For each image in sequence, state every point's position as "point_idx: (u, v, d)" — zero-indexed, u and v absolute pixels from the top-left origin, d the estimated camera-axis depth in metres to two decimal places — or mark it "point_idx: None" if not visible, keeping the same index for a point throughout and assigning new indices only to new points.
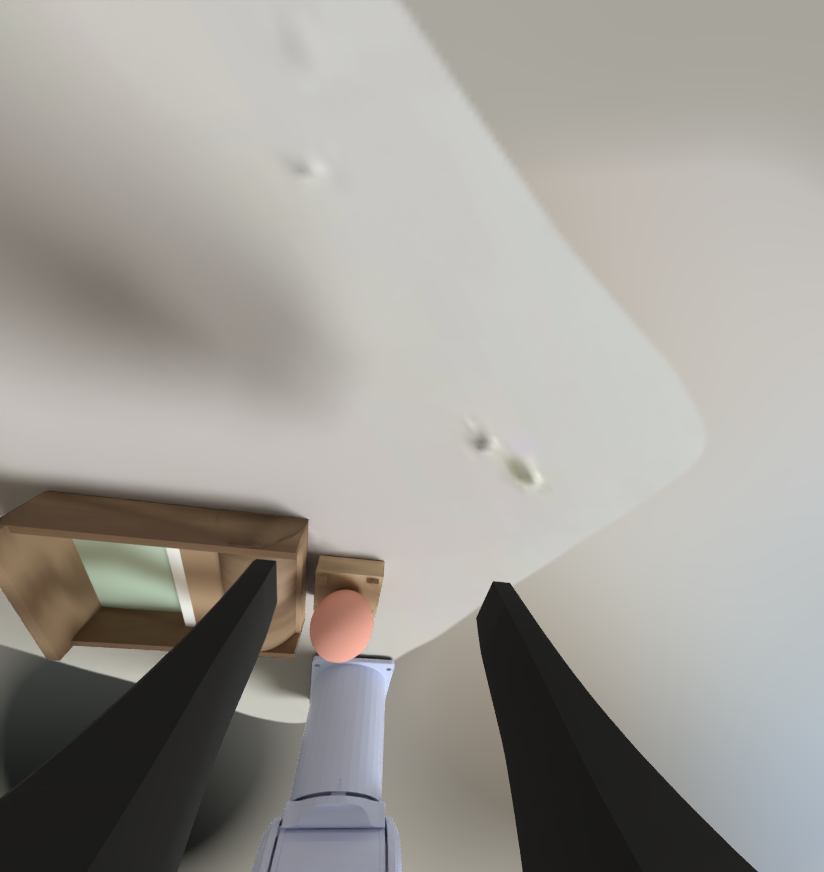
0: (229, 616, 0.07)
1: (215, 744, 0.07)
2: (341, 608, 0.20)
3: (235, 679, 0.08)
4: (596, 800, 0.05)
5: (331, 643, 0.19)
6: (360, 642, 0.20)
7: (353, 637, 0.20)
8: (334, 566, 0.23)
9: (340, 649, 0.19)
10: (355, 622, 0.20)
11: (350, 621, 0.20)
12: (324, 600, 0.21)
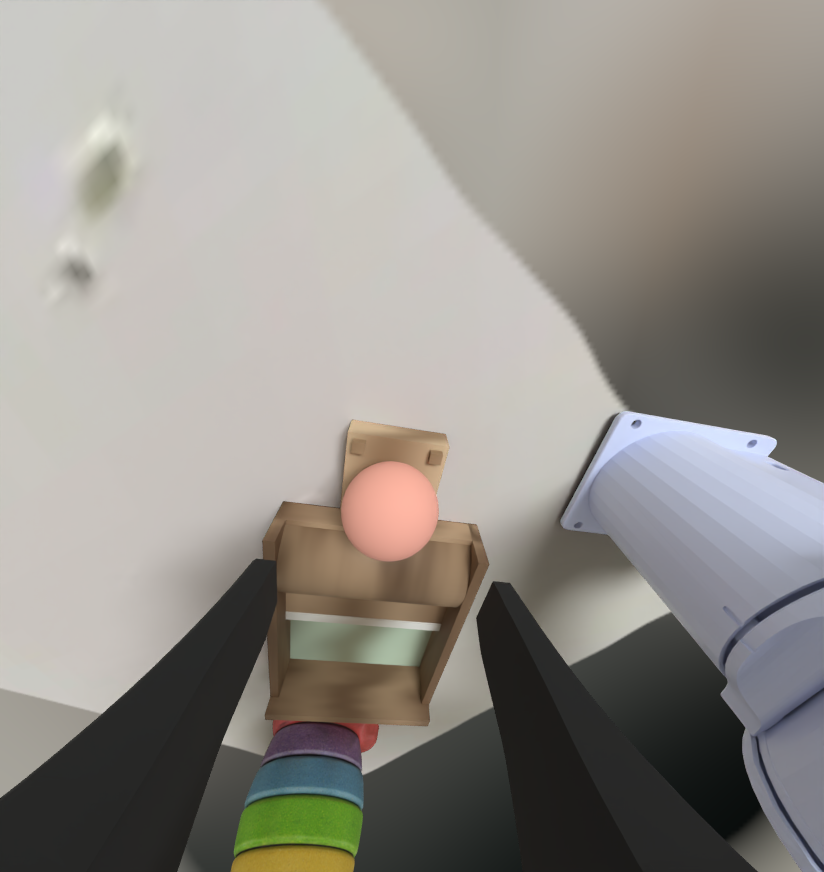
0: (229, 616, 0.07)
1: (216, 744, 0.07)
2: (341, 510, 0.13)
3: (235, 679, 0.08)
4: (596, 800, 0.05)
5: (361, 546, 0.12)
6: (375, 506, 0.12)
7: (360, 514, 0.12)
8: None
9: (370, 539, 0.12)
10: (349, 502, 0.12)
11: (346, 508, 0.12)
12: None
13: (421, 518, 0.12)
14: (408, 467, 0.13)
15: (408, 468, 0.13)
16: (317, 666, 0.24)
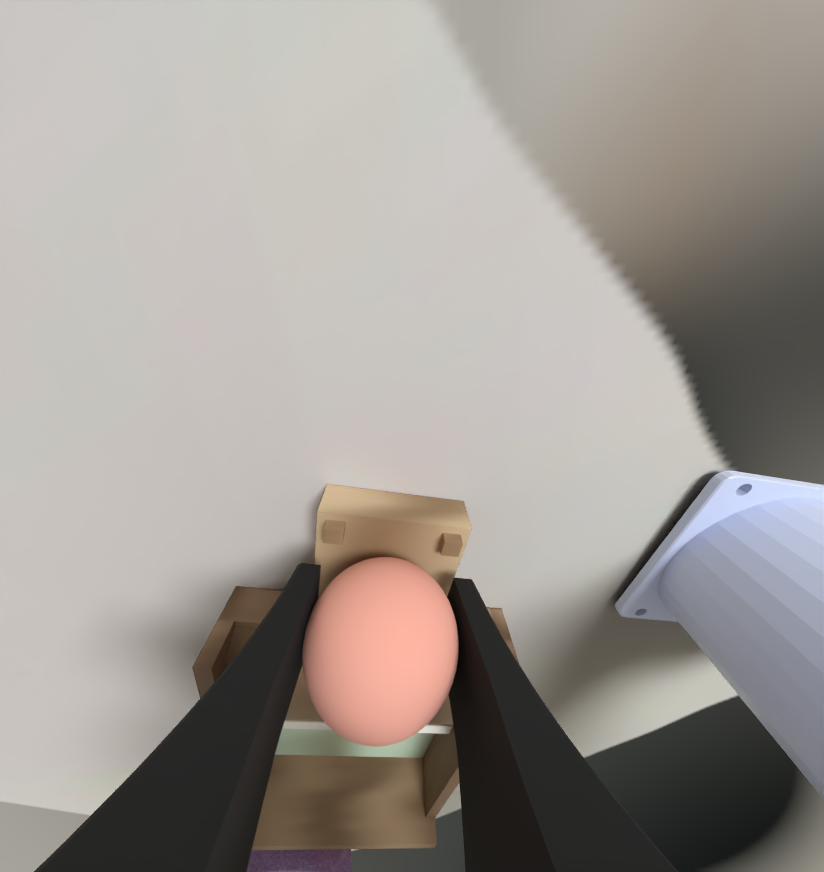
0: (287, 620, 0.07)
1: (274, 746, 0.07)
2: None
3: (290, 682, 0.08)
4: (523, 799, 0.05)
5: (332, 729, 0.07)
6: (354, 673, 0.07)
7: (329, 683, 0.07)
8: None
9: (345, 727, 0.07)
10: (313, 650, 0.07)
11: (307, 659, 0.07)
12: None
13: (433, 684, 0.07)
14: (410, 578, 0.08)
15: (410, 581, 0.08)
16: (295, 764, 0.19)
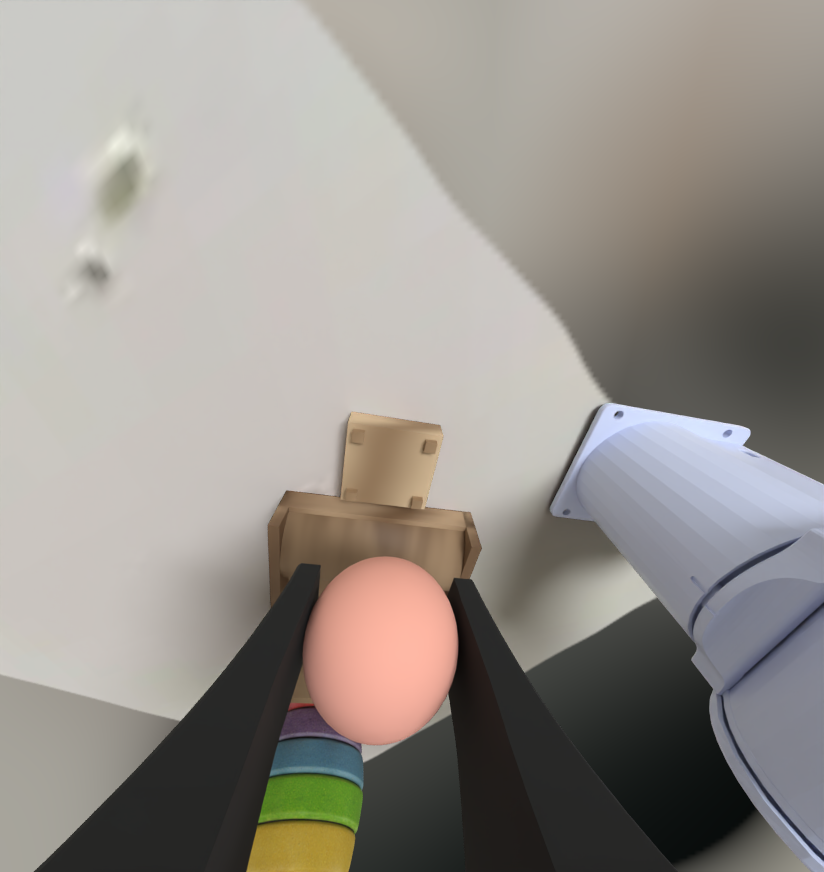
0: (287, 620, 0.07)
1: (274, 745, 0.07)
2: None
3: (290, 682, 0.08)
4: (523, 799, 0.05)
5: None
6: (354, 671, 0.07)
7: (329, 682, 0.07)
8: None
9: (345, 725, 0.07)
10: (313, 649, 0.07)
11: (307, 658, 0.07)
12: None
13: (433, 683, 0.07)
14: (410, 577, 0.08)
15: (410, 580, 0.08)
16: None
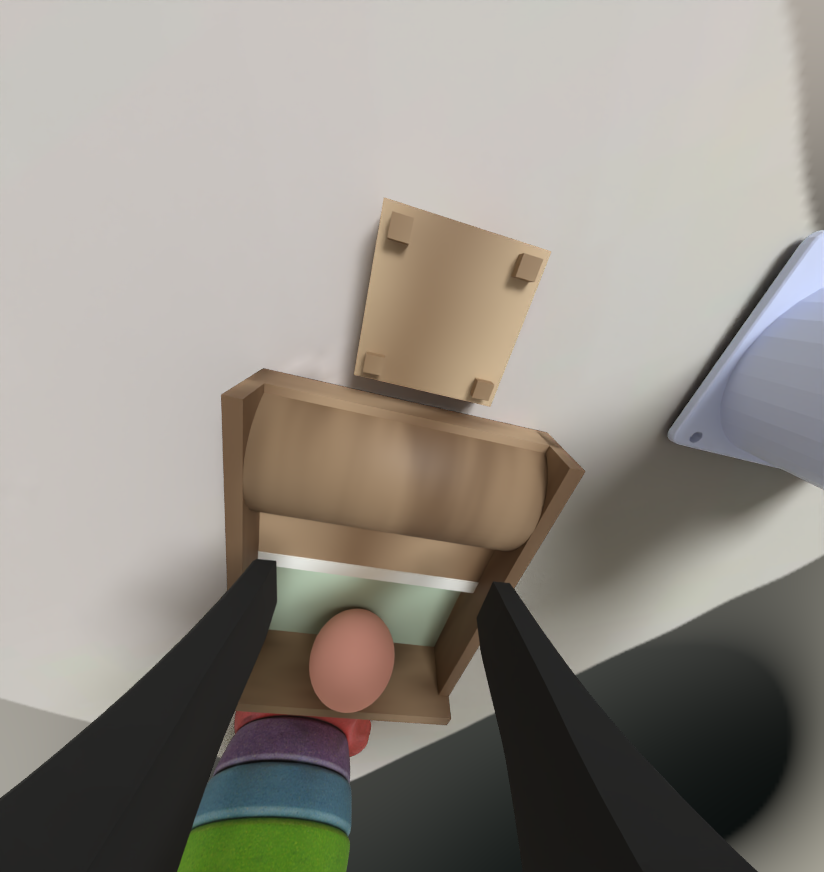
0: (229, 616, 0.07)
1: (215, 744, 0.07)
2: (311, 652, 0.15)
3: (235, 679, 0.08)
4: (596, 800, 0.05)
5: (339, 629, 0.15)
6: (345, 610, 0.17)
7: (335, 615, 0.16)
8: None
9: (346, 617, 0.16)
10: (323, 626, 0.16)
11: (320, 630, 0.16)
12: (319, 695, 0.14)
13: (378, 617, 0.17)
14: None
15: None
16: (299, 640, 0.18)
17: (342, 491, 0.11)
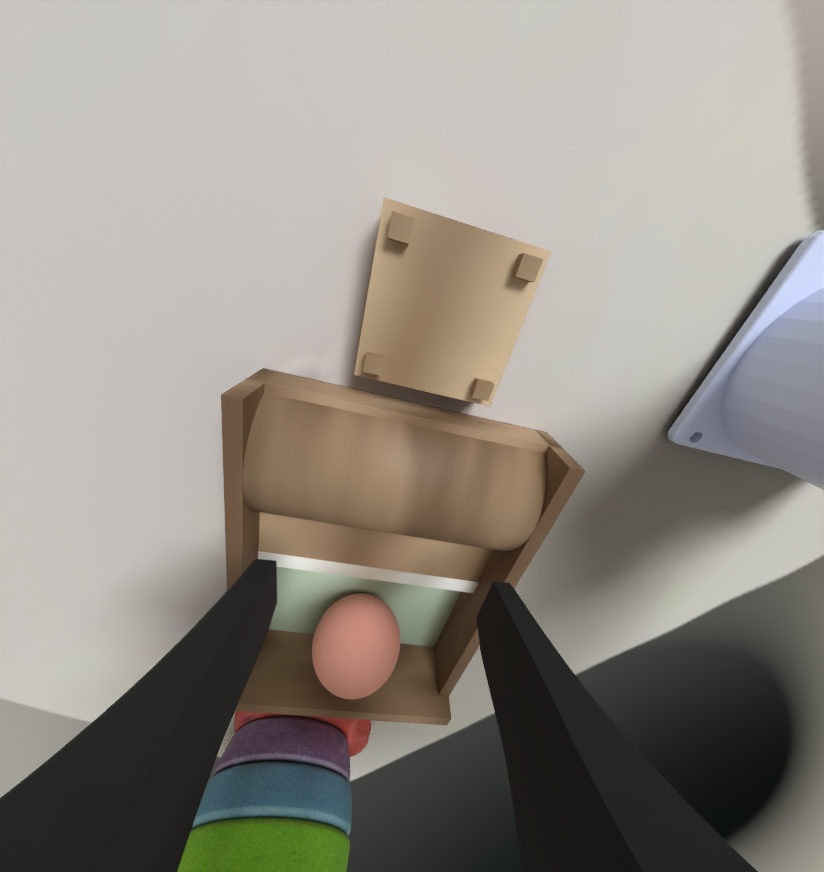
0: (229, 616, 0.07)
1: (215, 744, 0.07)
2: (315, 632, 0.15)
3: (235, 679, 0.08)
4: (596, 800, 0.05)
5: (345, 597, 0.16)
6: None
7: None
8: None
9: None
10: None
11: None
12: (327, 662, 0.13)
13: None
14: None
15: None
16: (299, 640, 0.18)
17: (342, 491, 0.11)
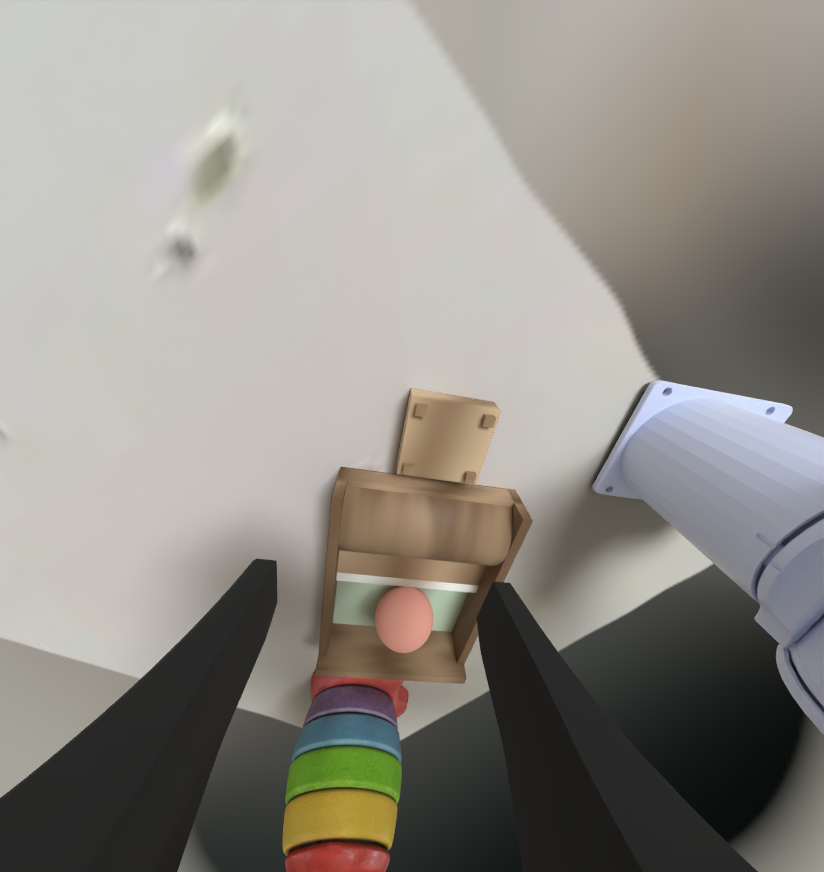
0: (229, 616, 0.07)
1: (215, 744, 0.07)
2: (376, 608, 0.22)
3: (235, 679, 0.08)
4: (596, 800, 0.05)
5: None
6: None
7: None
8: (400, 451, 0.18)
9: None
10: None
11: None
12: (389, 610, 0.21)
13: None
14: None
15: None
16: (358, 630, 0.26)
17: (393, 539, 0.18)
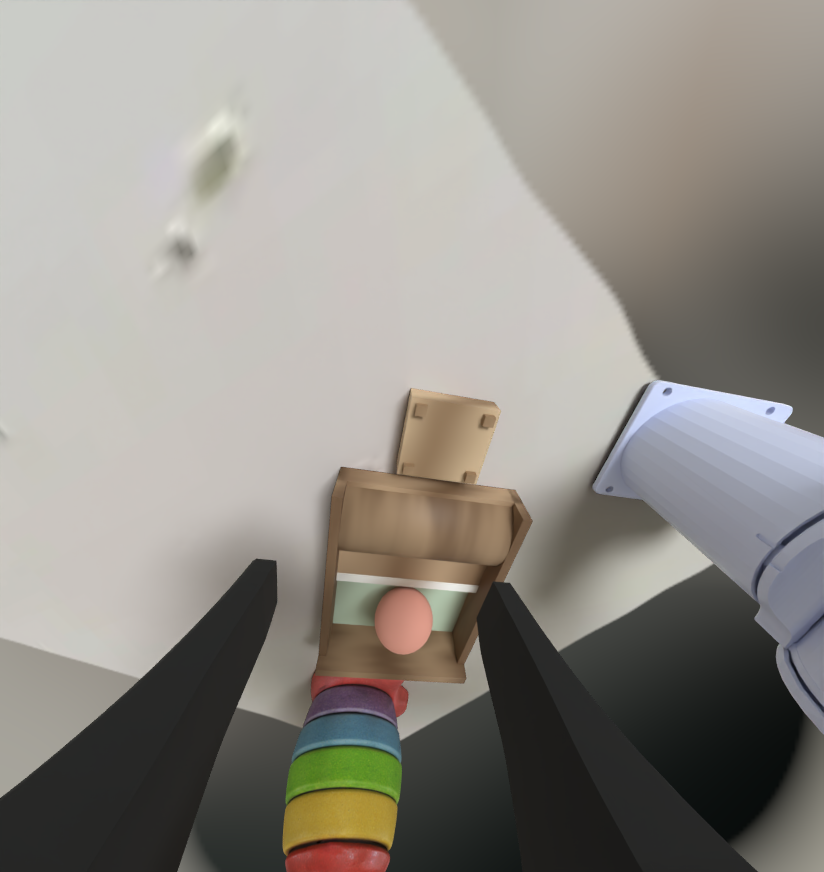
0: (229, 616, 0.07)
1: (215, 744, 0.07)
2: (376, 610, 0.23)
3: (235, 679, 0.08)
4: (596, 800, 0.05)
5: None
6: None
7: None
8: (400, 451, 0.18)
9: None
10: None
11: None
12: (389, 614, 0.21)
13: None
14: None
15: None
16: (358, 630, 0.26)
17: (393, 539, 0.18)
